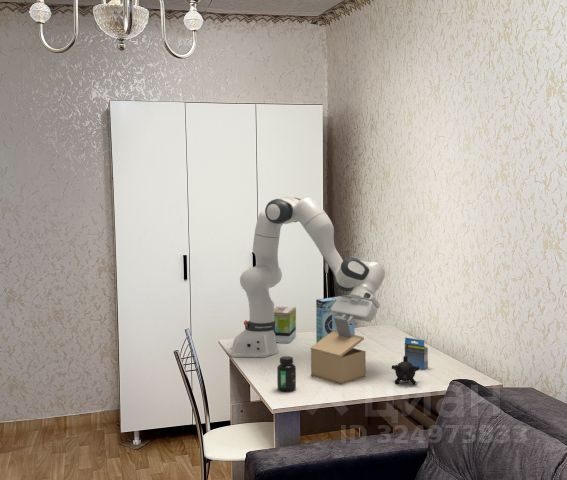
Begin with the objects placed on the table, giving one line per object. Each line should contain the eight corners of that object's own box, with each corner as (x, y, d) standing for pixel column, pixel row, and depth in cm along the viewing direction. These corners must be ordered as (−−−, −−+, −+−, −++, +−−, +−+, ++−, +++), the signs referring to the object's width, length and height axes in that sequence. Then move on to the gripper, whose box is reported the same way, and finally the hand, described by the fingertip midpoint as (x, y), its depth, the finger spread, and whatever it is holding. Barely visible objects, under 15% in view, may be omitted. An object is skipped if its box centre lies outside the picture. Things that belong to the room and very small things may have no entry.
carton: (335, 368, 290) (335, 343, 289) (365, 377, 279) (365, 351, 277) (311, 375, 281) (311, 350, 280) (340, 384, 269) (340, 357, 268)
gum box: (348, 342, 334) (348, 294, 332) (355, 344, 330) (355, 295, 327) (315, 349, 323) (315, 299, 320) (322, 351, 318) (322, 300, 316)
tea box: (290, 343, 333) (290, 312, 332) (269, 342, 335) (269, 311, 334) (296, 336, 348) (296, 306, 346) (276, 335, 350) (275, 305, 348)
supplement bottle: (284, 393, 260) (284, 361, 258) (273, 388, 265) (273, 357, 264) (299, 389, 264) (299, 358, 262) (288, 385, 269) (288, 354, 268)
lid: (334, 332, 288) (329, 312, 285) (364, 339, 276) (358, 318, 274) (311, 349, 280) (305, 329, 277) (340, 357, 268) (334, 336, 265)
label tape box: (428, 367, 291) (428, 338, 290) (424, 370, 288) (424, 340, 286) (408, 364, 296) (408, 335, 295) (404, 366, 293) (404, 337, 291)
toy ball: (384, 378, 266) (386, 362, 277) (404, 397, 267) (405, 379, 278) (405, 362, 262) (405, 346, 273) (425, 380, 263) (425, 364, 274)
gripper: (337, 289, 292) (321, 317, 286) (376, 296, 276) (359, 325, 271) (345, 299, 295) (329, 326, 289) (383, 305, 280) (367, 334, 274)
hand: (344, 325), depth 280 cm, fingers closed, pressing on lid
